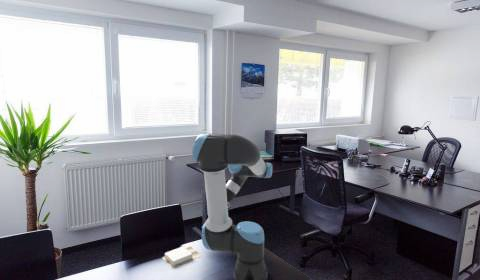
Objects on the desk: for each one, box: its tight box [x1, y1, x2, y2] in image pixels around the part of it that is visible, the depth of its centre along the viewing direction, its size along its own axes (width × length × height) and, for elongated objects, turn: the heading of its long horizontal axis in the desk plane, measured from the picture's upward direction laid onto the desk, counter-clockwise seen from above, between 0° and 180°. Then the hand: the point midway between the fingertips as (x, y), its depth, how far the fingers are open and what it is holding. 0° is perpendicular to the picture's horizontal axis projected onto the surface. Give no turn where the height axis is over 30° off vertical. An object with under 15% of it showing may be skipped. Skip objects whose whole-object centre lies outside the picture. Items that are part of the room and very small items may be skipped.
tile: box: [164, 245, 192, 266], centre depth 144 cm, size 9×2×10 cm
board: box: [161, 246, 203, 269], centre depth 145 cm, size 11×16×1 cm
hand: (204, 229), depth 151 cm, fingers closed
